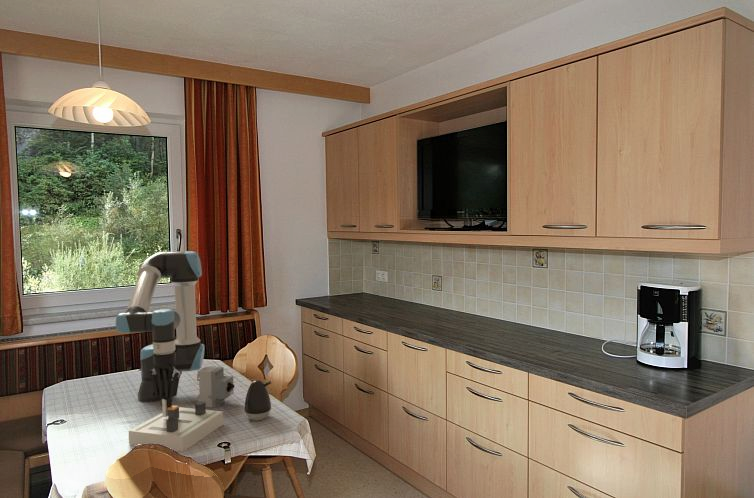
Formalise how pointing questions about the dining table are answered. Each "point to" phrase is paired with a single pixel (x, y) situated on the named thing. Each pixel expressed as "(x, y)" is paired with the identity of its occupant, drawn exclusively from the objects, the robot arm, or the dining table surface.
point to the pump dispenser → (257, 401)
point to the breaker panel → (178, 428)
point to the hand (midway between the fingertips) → (166, 415)
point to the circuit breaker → (214, 386)
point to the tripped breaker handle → (173, 412)
